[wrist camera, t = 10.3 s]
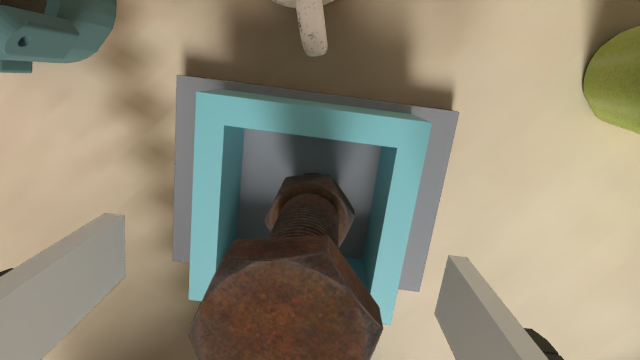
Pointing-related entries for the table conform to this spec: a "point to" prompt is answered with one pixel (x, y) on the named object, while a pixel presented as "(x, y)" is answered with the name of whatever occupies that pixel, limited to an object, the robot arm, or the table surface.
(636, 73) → the plant pot
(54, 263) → the robot arm
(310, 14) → the teacup with lid
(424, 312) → the table surface
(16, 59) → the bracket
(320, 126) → the socket
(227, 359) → the bolt
